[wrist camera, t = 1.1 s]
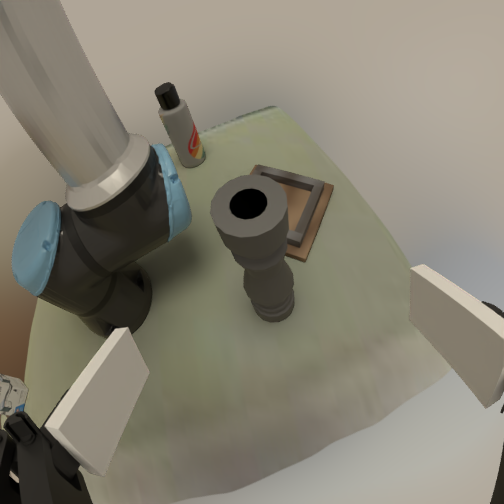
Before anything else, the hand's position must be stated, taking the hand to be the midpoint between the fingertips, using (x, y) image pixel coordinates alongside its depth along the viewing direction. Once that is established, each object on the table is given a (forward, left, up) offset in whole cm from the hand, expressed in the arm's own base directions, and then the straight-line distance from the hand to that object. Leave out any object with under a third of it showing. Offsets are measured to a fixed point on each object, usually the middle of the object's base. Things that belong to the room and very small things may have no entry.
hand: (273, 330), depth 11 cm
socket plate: (-12, +24, -29) cm, 40 cm away
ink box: (-47, -38, -30) cm, 67 cm away
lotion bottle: (-35, +31, -29) cm, 55 cm away
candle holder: (-6, +8, -29) cm, 31 cm away
